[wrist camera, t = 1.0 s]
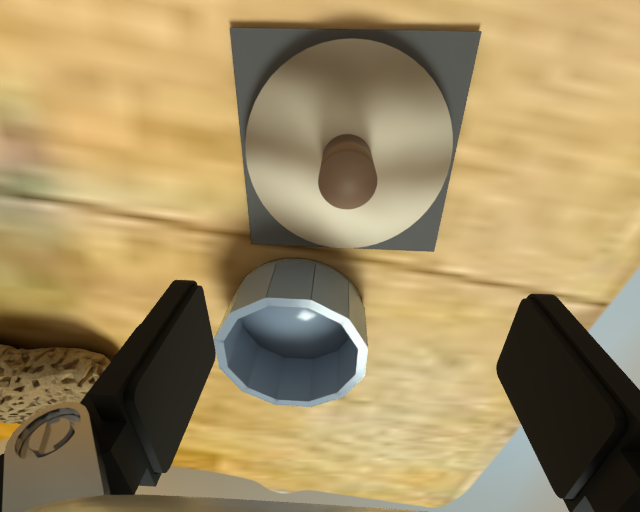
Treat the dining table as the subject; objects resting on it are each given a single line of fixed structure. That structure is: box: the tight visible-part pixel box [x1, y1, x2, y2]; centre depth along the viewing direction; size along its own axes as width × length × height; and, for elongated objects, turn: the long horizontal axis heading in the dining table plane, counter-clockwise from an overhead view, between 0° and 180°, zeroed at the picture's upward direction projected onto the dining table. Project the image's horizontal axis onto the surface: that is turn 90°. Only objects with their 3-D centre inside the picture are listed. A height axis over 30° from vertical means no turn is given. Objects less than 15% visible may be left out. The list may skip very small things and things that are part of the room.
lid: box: [245, 38, 453, 248], centre depth 23 cm, size 15×15×6 cm
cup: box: [214, 258, 368, 407], centre depth 32 cm, size 13×13×6 cm
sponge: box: [0, 344, 111, 424], centre depth 38 cm, size 13×8×20 cm
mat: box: [230, 28, 481, 252], centre depth 26 cm, size 16×16×1 cm
